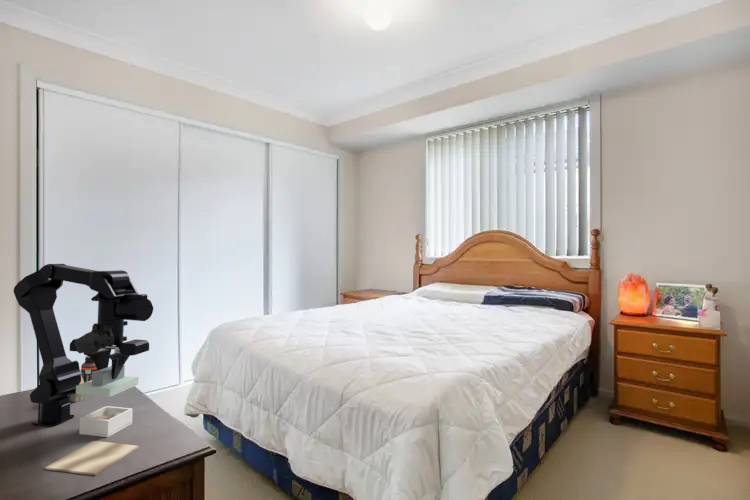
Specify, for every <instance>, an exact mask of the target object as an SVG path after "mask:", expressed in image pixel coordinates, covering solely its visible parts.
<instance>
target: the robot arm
mask: <svg viewBox="0 0 750 500" xmlns="http://www.w3.org/2000/svg"><path fill="white" fill-rule="evenodd" d="M64 282H68V283H73V284H79V285H84V286H87V287H89V289H90V290H91V291H94V292H96V295H94V296H93V297H92V298H91V301H92V302H98V303H97V322H95V323H93V325H92V329H91V331H90V332H87V333H84V334H83V335H82V336H80V337H79V338H74V339H72V341H70V343H69V352H77V353H78V354H83V355H84V356H89V357H90V358H92V359H93V361H94V363H95V365H96V368H97V370H101V369H104V368H107V367H109V363H110V360H111V366H112V379H113V380H114V379H116V378H117V377H118V375H119V373H120V371H121V369H122V367H123V366H125V364H126V362H127V361H128V359H129V357H131V356H136V355H139V354H143V353H145V352H149V351H150V343H149V340H147V339H131V340H128V336H124V331H125V330H124V328H125V326H128V323H129V322H128V321H137V322H139V321H140V322H146V321H148V320H149V319H151V317H152V314H153V312H154V306H153V303H152V301H151V300H150V299H148V294H147V293H141V294H140V293H139V292H138V290H137V288H136V287H135V285H134V283H133V281H132V279H131V278H130V276H129V274H128V272H127V271H125V270H122V269H121V270H120V269H119V270H94V269H88V268H84V267H79V266H71V265H67V264H64V263H47V264H45V265H43V266H41V268H40V269H39V270H38V269H37V270H35V272H32V273H31V274H28V275H26V276H24V277H23V278H22V279H21V280H19V281H18V282H17V283H16V285H15V286H14V288H13V294H14V296H15V299H16V301H17V303H18V306H20V308H22V309H23V310H25V312H27V313H28V314H29V317H30V320H31V324H32V328H33V332H34V336H35V338H36V339H35V340H36V342H37V345H38V350H39V353H40V357H41V360H42V367H41V369H40V372H39V375H38V382H39V385H37V386H36V387H35V388H34V390H33V391H32V392H31V393H30V394H29V398H30V402H31V403H33V404H38V411H37V420H34V421H32V422H31V425H36V426H45V427H54V426H57V425H58V424H61V423H64V422H66V421H68V420H70V419H73V418H75V414H71V403H70V396H69V395H71V394H75V393H76V386H77V385H79V384H80V382H81V375H82V372H81V367H80V363H79V361H78V360H71V359H69V358H68V357H67V353H66V350H65V347H64V343H63V340H62V336H61V333H60V329H59V325H58V322H57V318H56V316H55V311H54V305H55V303H56V300H57V299H58V294H57V291H58V290H59V289H60V288H62V286H63V283H64ZM127 340H128V341H127ZM112 350H114V351H113V353H112Z"/></svg>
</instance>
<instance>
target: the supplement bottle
mask: <svg viewBox="0 0 750 500" xmlns="http://www.w3.org/2000/svg"><path fill="white" fill-rule="evenodd" d="M84 358H85V359H84V360H85V361H84V362H83V363H82V364H81V366H80V371H81V372H82V375H81V376H82V378H83V381H84V383H85V382H88V381H91V380H92V372H95V371H98V370H97V368H96V365H95V363H94V361H93V359H92V358H90V357H89V356H87V355H85V357H84Z"/></svg>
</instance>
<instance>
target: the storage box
mask: <svg viewBox="0 0 750 500" xmlns="http://www.w3.org/2000/svg"><path fill="white" fill-rule="evenodd" d="M130 425H133V408H132V407H131V408H130V407H120V406H119V407H118V406H110V405H106V406H103V407H101V408H99V409H97V410H94V411H93V412H90V413H88V414H86V415H83V416H82V417H79V435H86V436H94V437H95V436H96V437H104V438H105V437H106V438H109V437H111V436H112V435H114V434H116V433H117V432H119V431H121V430H124V429H125V428H127V427H129V426H130Z"/></svg>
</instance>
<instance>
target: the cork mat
mask: <svg viewBox="0 0 750 500" xmlns="http://www.w3.org/2000/svg"><path fill="white" fill-rule="evenodd" d="M139 447H140V446H139V445H136V444H135V445H133V444H127V443H118V442H107V441H101V440H100V441H99V440H93V441H91V442H88V443H87V444H85V445H83V446H82V447H80V448H78V449H76V450H74V451H72V452H71V453H69V454H67V455H65V456H63V457H62V458H60V459H58V460H56V461H53V463H50V464H48V465H47V466H45V467H44V470H50V471H58V472H65V473H72V474H81V475H88V476H97V475H98V474H100V473H101V472H104V471H105V470H106V469H107V468H110V467H111V466H112V465H114V464H115V463H117V462H119V461H120V460H122V459H123V458H125V457H126V456H128V455H129V454H130V453H133V452H134V451H135V450H137V449H139Z"/></svg>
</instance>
